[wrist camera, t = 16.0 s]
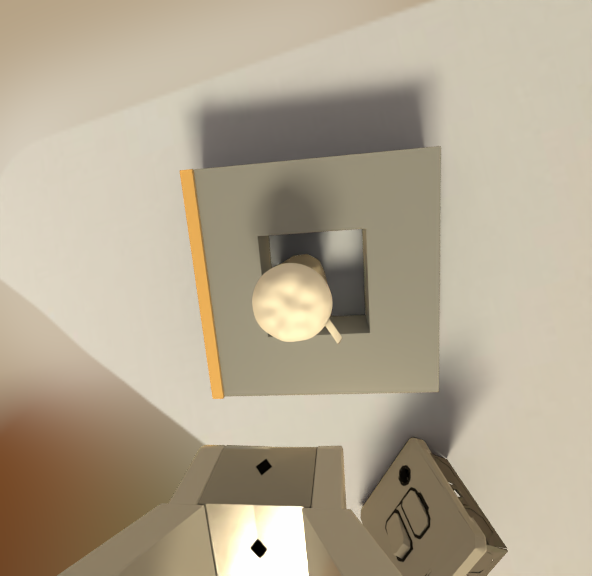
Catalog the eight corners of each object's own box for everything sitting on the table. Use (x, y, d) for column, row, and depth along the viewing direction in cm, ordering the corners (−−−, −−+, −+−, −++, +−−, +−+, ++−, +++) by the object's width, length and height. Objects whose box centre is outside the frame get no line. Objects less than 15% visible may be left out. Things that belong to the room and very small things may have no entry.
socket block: (425, 153, 26) (442, 145, 22) (425, 366, 30) (439, 394, 25) (202, 174, 28) (179, 170, 24) (228, 371, 32) (212, 398, 27)
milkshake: (324, 317, 30) (319, 376, 20) (264, 285, 29) (229, 329, 20) (353, 267, 28) (362, 304, 19) (290, 234, 28) (267, 254, 19)
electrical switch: (412, 430, 31) (455, 531, 22) (464, 453, 32) (528, 562, 23) (357, 509, 34) (377, 629, 25) (407, 530, 34) (444, 655, 25)
